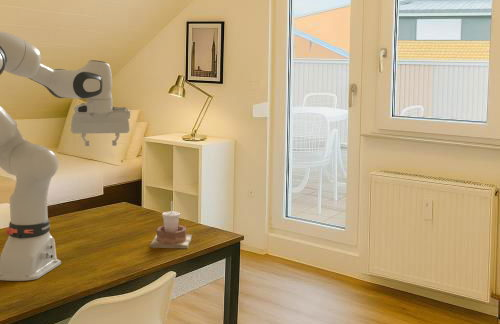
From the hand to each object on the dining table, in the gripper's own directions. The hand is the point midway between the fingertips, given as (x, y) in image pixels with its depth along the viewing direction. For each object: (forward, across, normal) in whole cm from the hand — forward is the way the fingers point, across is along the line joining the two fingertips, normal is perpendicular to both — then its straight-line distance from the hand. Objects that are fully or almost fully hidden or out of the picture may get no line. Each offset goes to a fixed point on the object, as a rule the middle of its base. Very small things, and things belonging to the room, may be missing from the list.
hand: (100, 145), depth 220 cm
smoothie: (+33, -24, +10) cm, 42 cm away
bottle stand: (+34, -24, +11) cm, 43 cm away
